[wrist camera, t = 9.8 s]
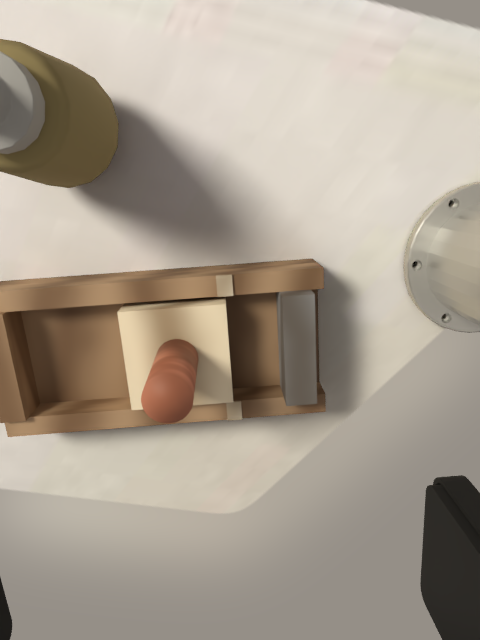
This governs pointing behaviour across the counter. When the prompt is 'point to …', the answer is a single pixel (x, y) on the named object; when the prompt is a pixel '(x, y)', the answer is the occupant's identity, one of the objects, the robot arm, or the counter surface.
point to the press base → (107, 353)
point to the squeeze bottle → (52, 119)
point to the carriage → (176, 355)
